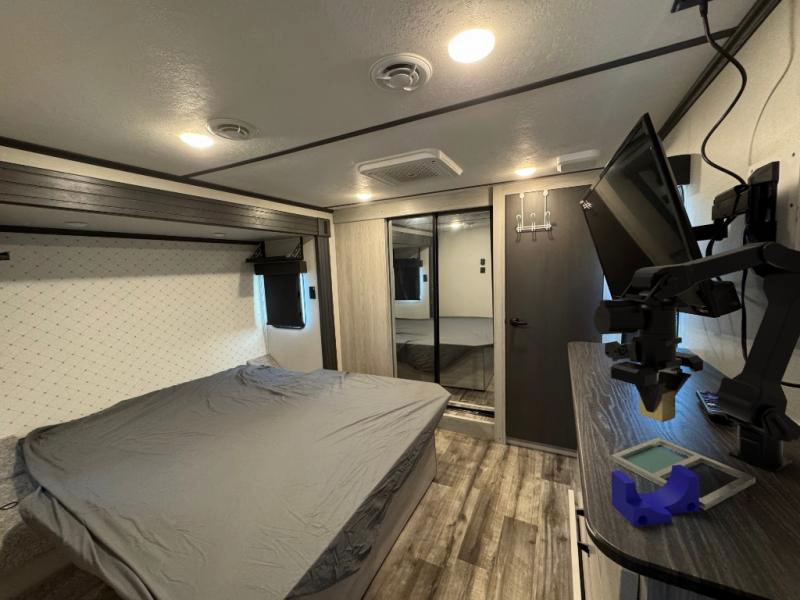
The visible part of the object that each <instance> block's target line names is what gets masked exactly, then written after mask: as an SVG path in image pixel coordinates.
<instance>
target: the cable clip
mask: <svg viewBox="0 0 800 600" xmlns="http://www.w3.org/2000/svg"><path fill="white" fill-rule="evenodd" d="M666 481H667V482H666V483H665V484H664V486H662V487H661V486H660V487H659V488H658V489H657V490H655V491H652V492H649V493H639V492H638V491H637V489H636V488H637V487H636V482H635V481H634V480H632V478H630V477H629V476H628V475H627V474H625V473H624V472H623V471H621V470H613V471H611V506H612V507H614V508H615V509H616V510H617V511H618V512H619V513H620V515H622V516H623V517H624V518H625V520H627V521H628V522H629V523H630V524H631V525H632V526H633V527H640V526H641V527H642V526H652V525H659V524H661V525H662V524H670V523H672V522H673V514H674V515H675V514H684V513H692V512H693V513H694V512H699V511H700V507H699V498H700V476H699V475H698V474H697V473H695V472H693V471H692V470H690V468H688V469H687V468H685V467H684V466H682V465H672V471H671V475H670V477H669V478H667V480H666Z"/></svg>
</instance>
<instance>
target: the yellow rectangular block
mask: <svg viewBox="0 0 800 600" xmlns="http://www.w3.org/2000/svg"><path fill="white" fill-rule="evenodd" d="M638 396H639V397H638V399H639V403H638V405H639V410H638V411H639V415H640V416H644V417H646V418H649V419H652V420H654V421H657V422H660V423H665V422H667V421H671V420H674V419H675V418H676V396H675V390H672V389H668V388H665V387H664V389H663V391H662V394H661V396H660V399H659V401H658V404H657V406H656V408H655V410H654V412H653V413H651V412H648V411H646V409H645V406H644V404H643V401H642V399H641V397H640V394H639V393H638Z"/></svg>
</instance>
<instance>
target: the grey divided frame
mask: <svg viewBox="0 0 800 600" xmlns="http://www.w3.org/2000/svg"><path fill="white" fill-rule="evenodd" d="M659 446H661V447H659ZM662 447H664V448H666V449H664V448H662ZM667 449H669V450H671V451H673V452H675V453H678V454H680V455H682V454H683V456H685V455H686V456H685V457H687V456H688V457H687V458H684V457H682V456H680V455H678V454H675V453H673V452H670V451H669V450H667ZM610 460H611V461H613V462H614V463H616V464H618V465H620V466H622V467H623V468H625V469H627V470H629V471H631V472H632V473H634V474H637V475H639V476H640V477H642V478H643V479H646V480H648V481H650V482H651V483H654V484H655V485H657V486H659V487H660V488H661V487H662V486H664V484H665V483H666V482H667V481H668V480H667V479H669V477H670V475H671V471H672V465H682V466H684V467H685V468H687V469H690V468H693V467H695V466H697V465H699V464H703V463H704V465H706V466H709V467H710V466H711V468H714V469H715V470H718V471H720V472H722V473H726V474H727V475H729V476H732V477H734V478H737V479H735V480H733V481H731V482H729V483H727V484H726V485H725V484H724V486H722V487H720V488H718V489H716V490H714V491H712V492H710V493H708V494H706V495H704V496H703V497H699V509H702V510H703V511H707V510H709V509H710V508H712V507H714V506H716V505H717V504H720V503H721V502H723V501H725V500H726V499H729V498H730V497H732V496H734V495H736V494H738V493H739V492H741V491H743V490H745V489H746V488H748V487H750V486H752V485H754V484H756V476H753V475H751V474H750V473H749V474H748V473H747V472H743V471H741V470H739V469H736V468H734V467H731V466H730V465H727V464H724V463H721V462H719V461H717V460H715V459H712V458H708V457H707V456H705V455H703V454H700V453H698V452H695V451H692V450H690V449H687V448H685V447H684V446H683V447H682V446H681V445H677V444H675V443H672V442H671V441H667V440H665V439H663V438H660V437H656V438H654V439H650V440H648V441H645V442H643V443H639V444H637V445H634V446H631V447H629V448H626V449H624V450H621V451H618V452H616V453H612V454H611V455H610Z"/></svg>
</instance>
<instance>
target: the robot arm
mask: <svg viewBox="0 0 800 600" xmlns="http://www.w3.org/2000/svg"><path fill="white" fill-rule="evenodd" d="M748 269H749V270H750V272H751V274H752V275H754V276H755V277H758V278H759V279H761V280H763V282H762V287H761V288H762V289H761V290H762V292H763V294H764V297H765V298H766V301H767V306H766V308H765V310H764V314H763V316H762V319H761V322H760V324H759V327H758V329H757V333H756V335H755V338H754V340H753V342H752V345H751V347H750V350H749V352H748V355H747V358H746V360H745V363H744V366H743V367H742V371H741V372H740V373H739V374H737V375H735V376H734V377H732V378H731V377H730V378H729V377H727V376H724V377H722V379H721V381H720V386H719V388H718V390H717V391H716V392H715V396H717V398H716V399H717V400H716V404H717V405H718V406H719V408H720V410H722V412H723V414H724V417H725V419H726V420H728V421H731V422H733V423H736V424H737V447H735V448H733V449H731V450H728V453H727V454H728V455H729V456H731V457H734V458H737V459H740V460H742V461H745V462H747V463H750V464H753V465H755V466H757V467H760V468H763V469H766V470H769V471H771V472H774V473H777V472H779V471H781V470H783V469H785V468H787V467H788V466H790V465H791V464H792V463H793V460H791V459H789V458H786V457H784V456H783V454H784V453H783V451H784V442H785V443H792V441H793V440H799V439H800V425H799V424H798V423H797V422H795V421H794V420H793V419H792V418H791V417H789V415H787V414H786V413H787V412H786V411H787V408H788V407H787V406H788V399H787V397H786V394H785V391H784V389H783V386H782V381H783V378H784V376H785V373H786V370H788V369H787V368H788V365H789V363H790V361H791V358H792V356H793V353H794V351H795V348H796V346H797V344H798V341H799V339H800V250H797V249H793V248H789V247H787V246H785V245H783V244H781V243H778V242H775V241H764V242H763V241H762V242H754V243H746V244H743V245H742V246H739V247H737V248H733V249H729V250H726V251H722V252H719V253H715V254H712V255H708V256H705V257H700V258H697V259H693V260H689V261H687V262H683V263H677V264H668V265H667V264H666V265H657V266H656V265H655V266H649V267H648V266H647V267H642V268H640V269H637V270H636V271H635V272H634V274H633V276H632V278H631V282H630V283H629V284H628V286H627V287H626V289H625V290H624V291H623V293H622V294H621V295H620V296H619V297H618V299H600V300H599V305H598V306H597V307H596V309H595V311H594V314H593V323H594V327H595V330H597V332H598V333H599V334H601V335H616V334H617V335H618V334H634V333H635V334H636V333H637V335H632V337H631V338H630V340H631V341H630V342H627V343H622V344H621V343H619V341H617V340H614V341H609V342H605V343H604V355H605V356H606V357H607V358H610V359H611V361H612V362H616V361H617V363H614V364H612V365H611V366H610V367H609V377H610V379H614V380H617V381H621V382H625V383H627V384H631V385H634V387H636V390H637V392H638V395H639V394H640V397H641V399H642V401H643V404H644V406H645V409H646V411H648V412H651V413H653V412H654V410H655V408H656V406H657V404H658V401H659V399H660V396H661V394H662V391H663V389H664V387H665V388H668V389H672V390H675V397H677V394H678V393H679V392H680V390H681V389H682V388H683V386H684V385H685V384H686V382H688V380H689V379H690V378H691V377H692V373H689V372H684V370H683V368H681V367H686V368H689V369H690V371H691V372H694V373H697V372H700V371H703V370H704V360H703V359H702V358H701V357H700V356H699V355H697V354H693V353H692V354H691V353H685V352H681V351H677V345H678V344H682V343H683V337H681V336H680V337H679V336H677V309H687V308H690V304H689V303H687V301H685V300H683V299H682V298H681V297H680V296H679V295H681V294H683V293H685V292H687V291H689V290H691V289H692V288H693V287H695V285H696V284H699V283H701V282H705V281H707V280H712V279H715V278H718V277H722V276H725V275H729V274H733V273H737V272H740V271H741V272H742V271H744V270H748ZM626 359H627V360H628V359H629V361H623V362H618V360H626Z"/></svg>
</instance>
